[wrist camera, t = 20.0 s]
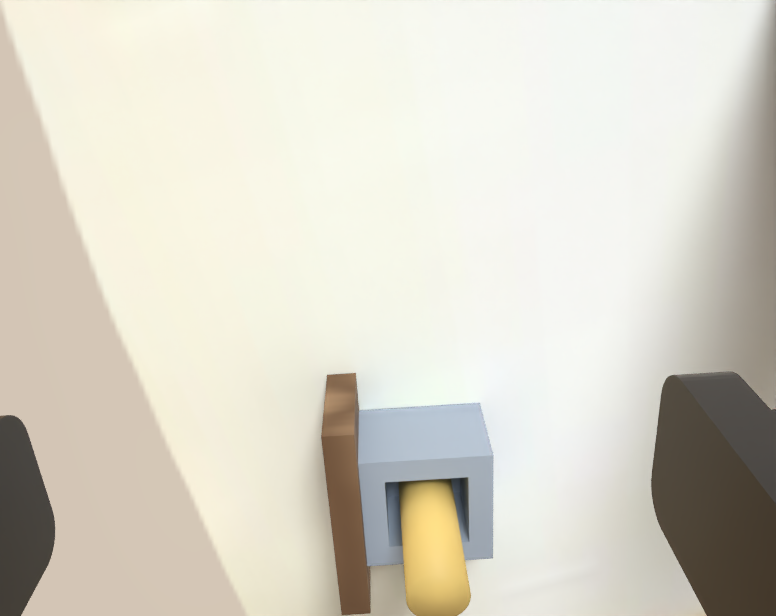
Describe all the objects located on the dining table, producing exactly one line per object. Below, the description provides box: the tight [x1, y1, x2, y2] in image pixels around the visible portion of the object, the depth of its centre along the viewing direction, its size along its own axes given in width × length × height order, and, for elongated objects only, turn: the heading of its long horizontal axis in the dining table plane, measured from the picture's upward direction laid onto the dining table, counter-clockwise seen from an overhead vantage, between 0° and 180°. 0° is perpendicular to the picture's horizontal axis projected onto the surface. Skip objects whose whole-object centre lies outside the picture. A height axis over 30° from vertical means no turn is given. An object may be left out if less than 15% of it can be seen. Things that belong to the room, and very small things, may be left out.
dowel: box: [398, 478, 471, 616], centre depth 38 cm, size 3×3×10 cm
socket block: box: [358, 403, 493, 566], centre depth 41 cm, size 7×7×5 cm
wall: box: [321, 373, 370, 615], centre depth 41 cm, size 2×12×6 cm, turn 4°
